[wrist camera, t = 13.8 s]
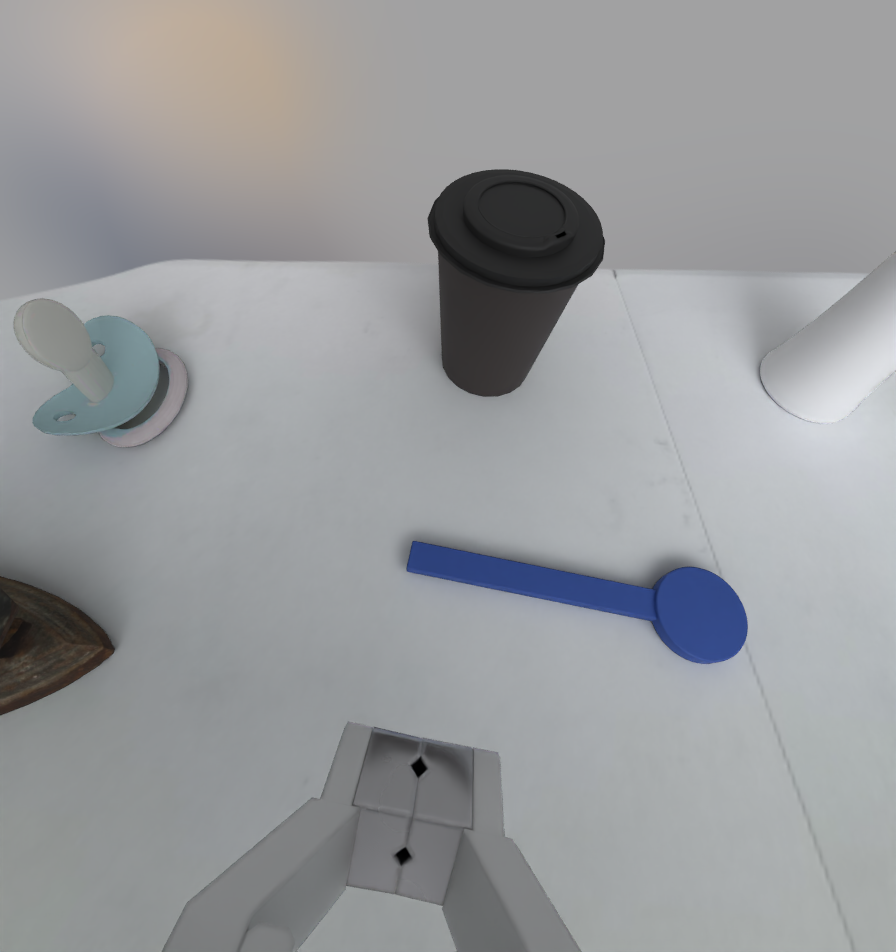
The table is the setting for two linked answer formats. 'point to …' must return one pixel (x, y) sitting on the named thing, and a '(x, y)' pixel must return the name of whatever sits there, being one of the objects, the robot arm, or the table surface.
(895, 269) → the cosmetic bottle
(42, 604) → the clothes iron
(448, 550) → the spoon
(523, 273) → the coffee cup
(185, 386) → the pacifier
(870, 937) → the table surface
